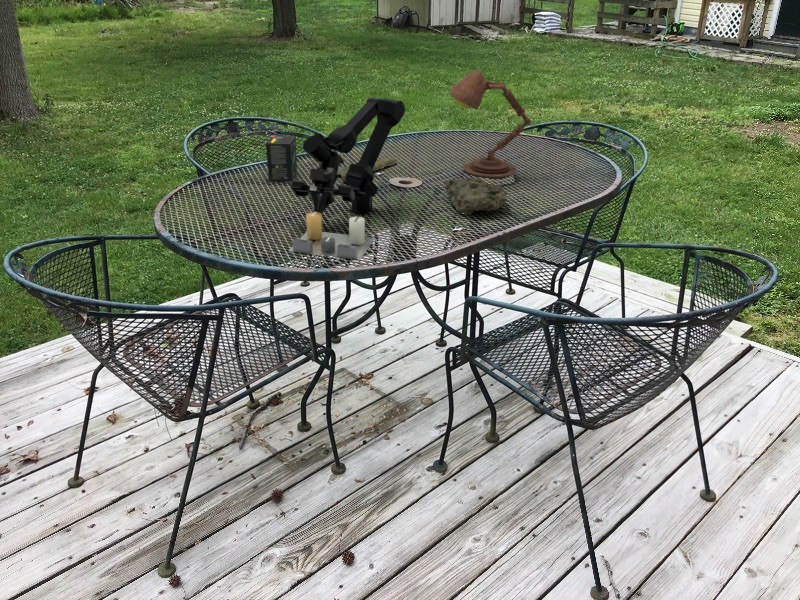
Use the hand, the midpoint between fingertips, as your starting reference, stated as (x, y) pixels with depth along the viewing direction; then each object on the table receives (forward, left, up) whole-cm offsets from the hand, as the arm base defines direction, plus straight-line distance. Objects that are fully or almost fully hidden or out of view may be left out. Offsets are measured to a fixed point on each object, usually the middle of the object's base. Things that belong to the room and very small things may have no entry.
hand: (316, 216), depth 191 cm
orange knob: (+2, +1, -5) cm, 6 cm away
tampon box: (-29, -53, -7) cm, 61 cm away
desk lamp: (-86, -1, -7) cm, 87 cm away
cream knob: (-4, +13, -5) cm, 14 cm away
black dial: (+5, +11, -6) cm, 13 cm away
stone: (-58, +16, -7) cm, 61 cm away
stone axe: (-56, -37, -7) cm, 68 cm away
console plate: (+2, +9, -7) cm, 11 cm away
